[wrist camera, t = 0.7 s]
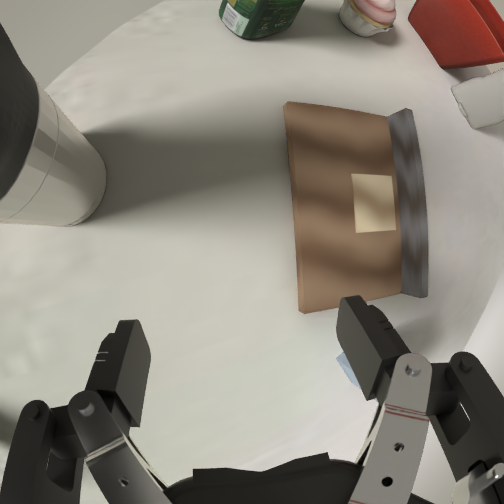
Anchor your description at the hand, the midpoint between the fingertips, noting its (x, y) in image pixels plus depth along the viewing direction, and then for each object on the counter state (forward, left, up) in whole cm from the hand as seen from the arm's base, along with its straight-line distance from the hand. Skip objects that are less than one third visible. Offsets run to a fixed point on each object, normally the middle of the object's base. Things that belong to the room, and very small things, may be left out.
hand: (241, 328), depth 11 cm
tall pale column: (+3, +57, -20) cm, 61 cm away
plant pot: (-12, +63, -20) cm, 67 cm away
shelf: (+4, +19, -20) cm, 28 cm away
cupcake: (-19, +40, -20) cm, 49 cm away
